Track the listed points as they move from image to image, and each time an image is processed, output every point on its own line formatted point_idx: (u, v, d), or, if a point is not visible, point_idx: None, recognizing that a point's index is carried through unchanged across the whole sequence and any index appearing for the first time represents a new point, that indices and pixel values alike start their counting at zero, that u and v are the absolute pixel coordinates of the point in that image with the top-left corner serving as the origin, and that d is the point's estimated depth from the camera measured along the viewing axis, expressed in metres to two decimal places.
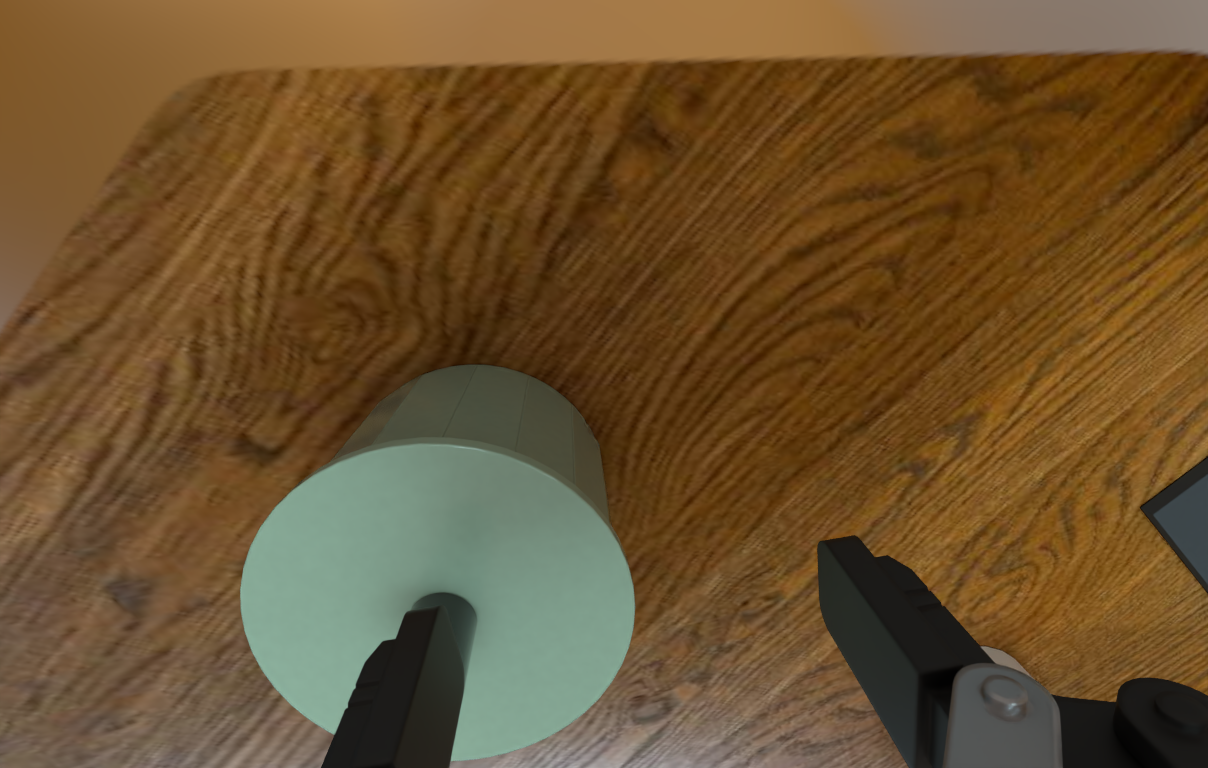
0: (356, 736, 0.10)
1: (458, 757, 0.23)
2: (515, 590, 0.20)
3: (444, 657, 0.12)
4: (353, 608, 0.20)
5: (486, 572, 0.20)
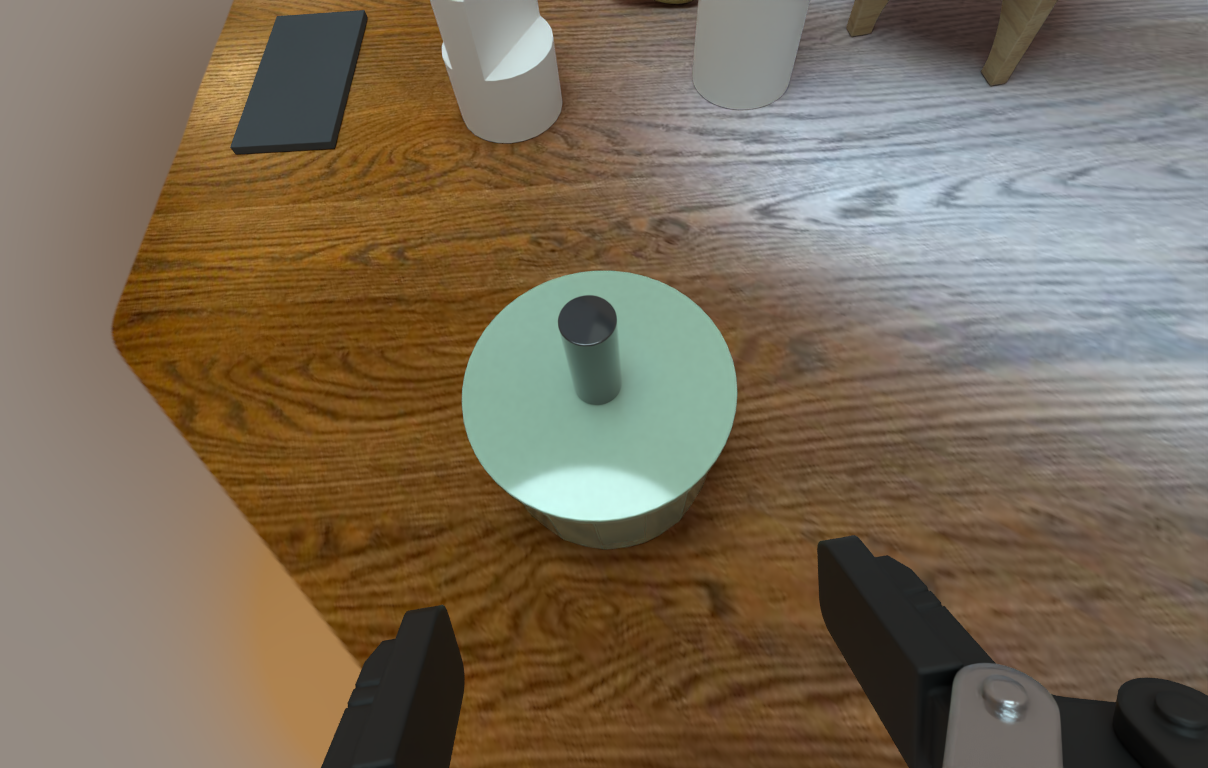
0: (356, 736, 0.10)
1: (687, 300, 0.31)
2: (545, 366, 0.30)
3: (444, 656, 0.12)
4: (632, 431, 0.28)
5: (547, 388, 0.29)
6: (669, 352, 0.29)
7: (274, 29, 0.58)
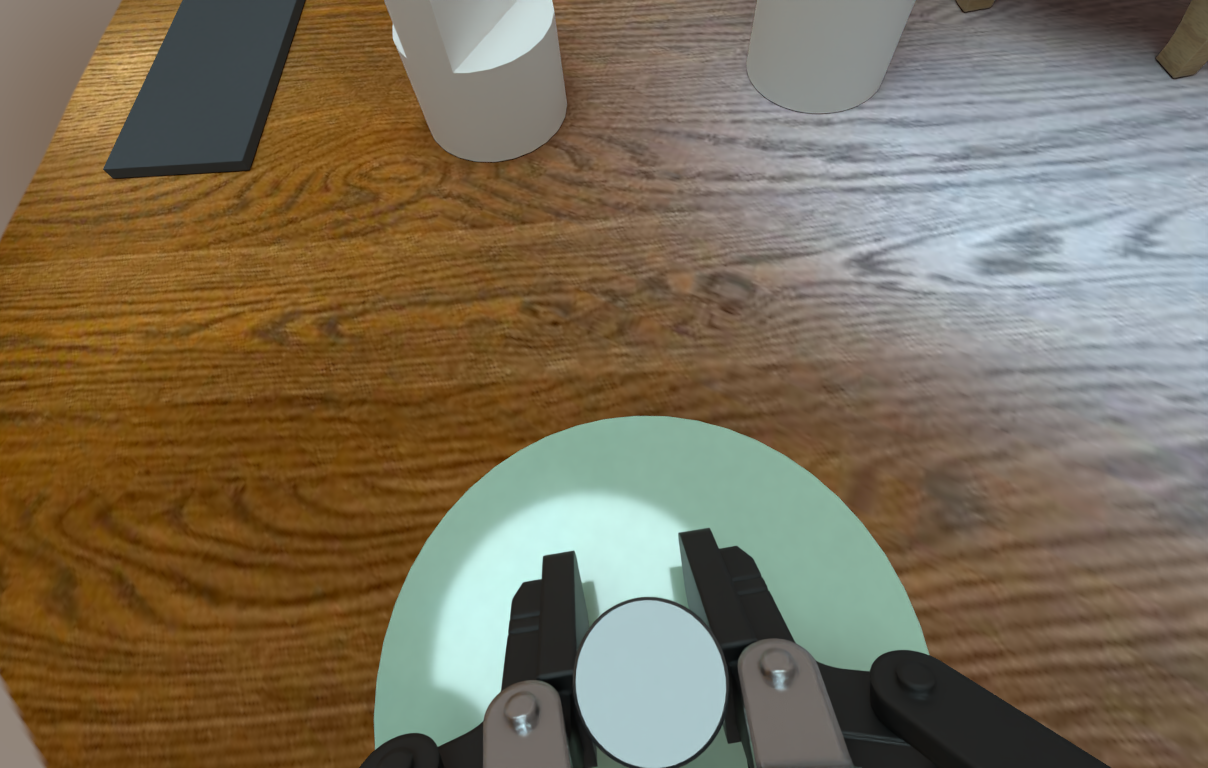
0: (526, 656, 0.11)
1: (813, 483, 0.16)
2: None
3: (580, 596, 0.13)
4: None
5: None
6: (789, 601, 0.15)
7: (181, 8, 0.43)
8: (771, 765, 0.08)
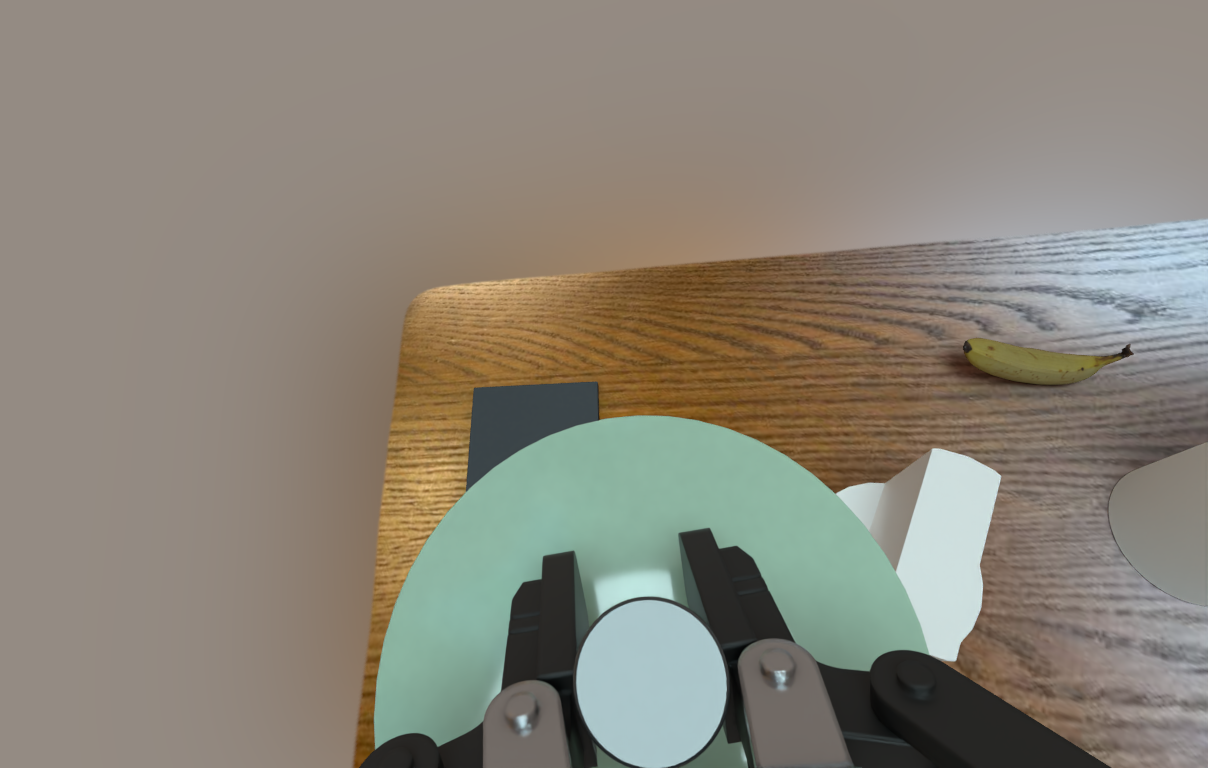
0: (526, 656, 0.11)
1: (813, 482, 0.16)
2: None
3: (580, 596, 0.13)
4: None
5: None
6: (789, 601, 0.15)
7: (475, 414, 0.42)
8: (771, 765, 0.08)
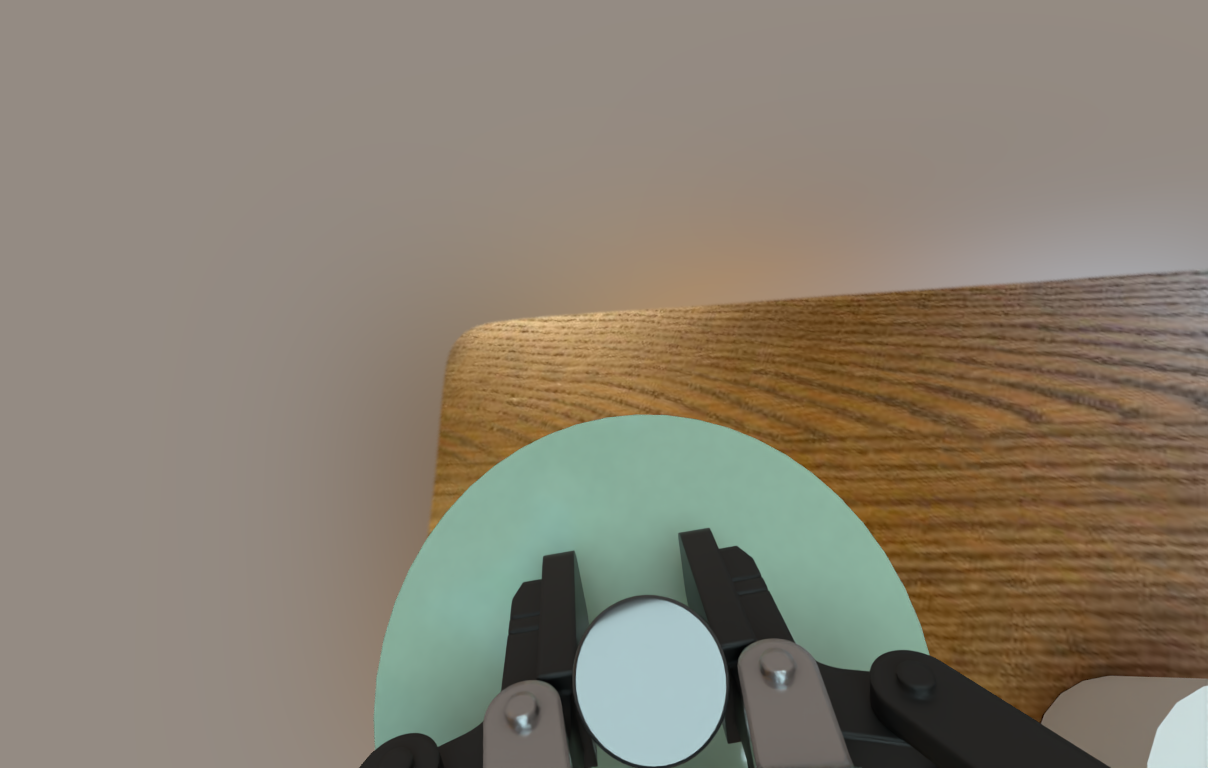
0: (526, 656, 0.11)
1: (813, 481, 0.16)
2: None
3: (580, 595, 0.13)
4: None
5: None
6: (789, 600, 0.15)
7: None
8: (771, 765, 0.08)
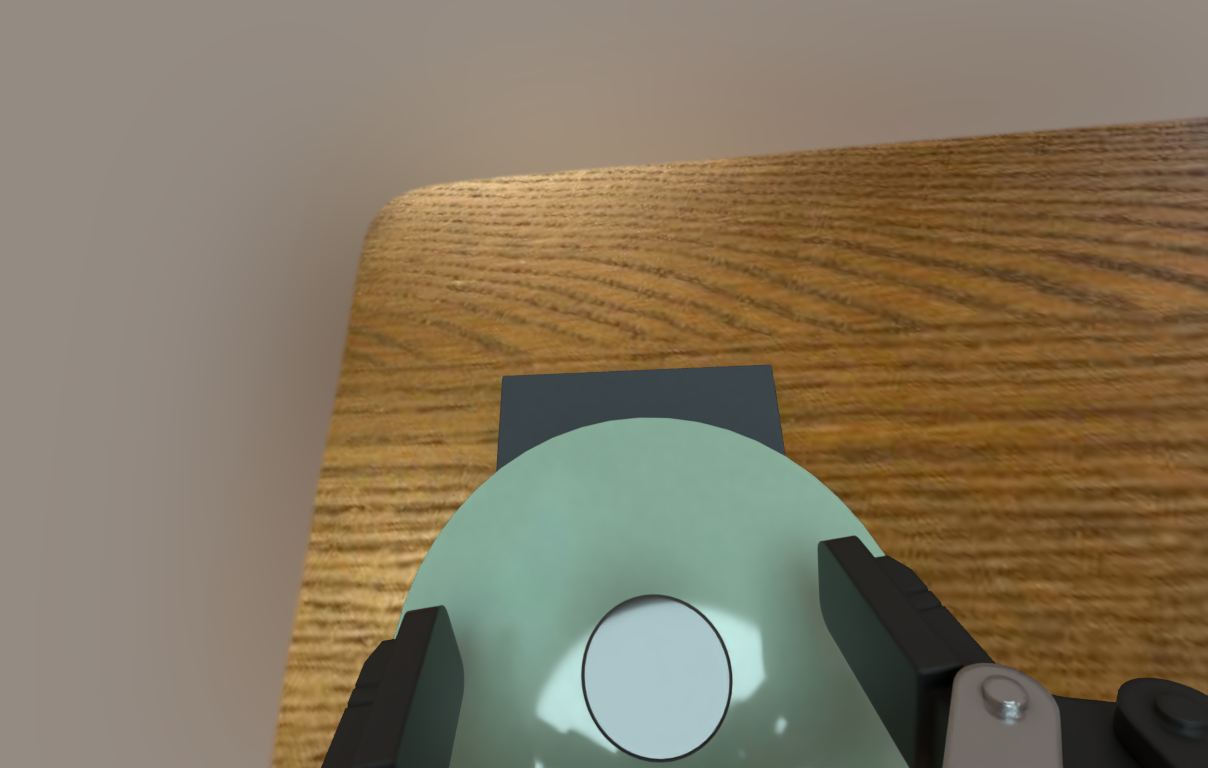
0: (356, 736, 0.10)
1: (812, 483, 0.16)
2: (550, 624, 0.15)
3: (443, 656, 0.12)
4: None
5: (552, 677, 0.15)
6: (789, 599, 0.15)
7: (507, 434, 0.19)
8: None
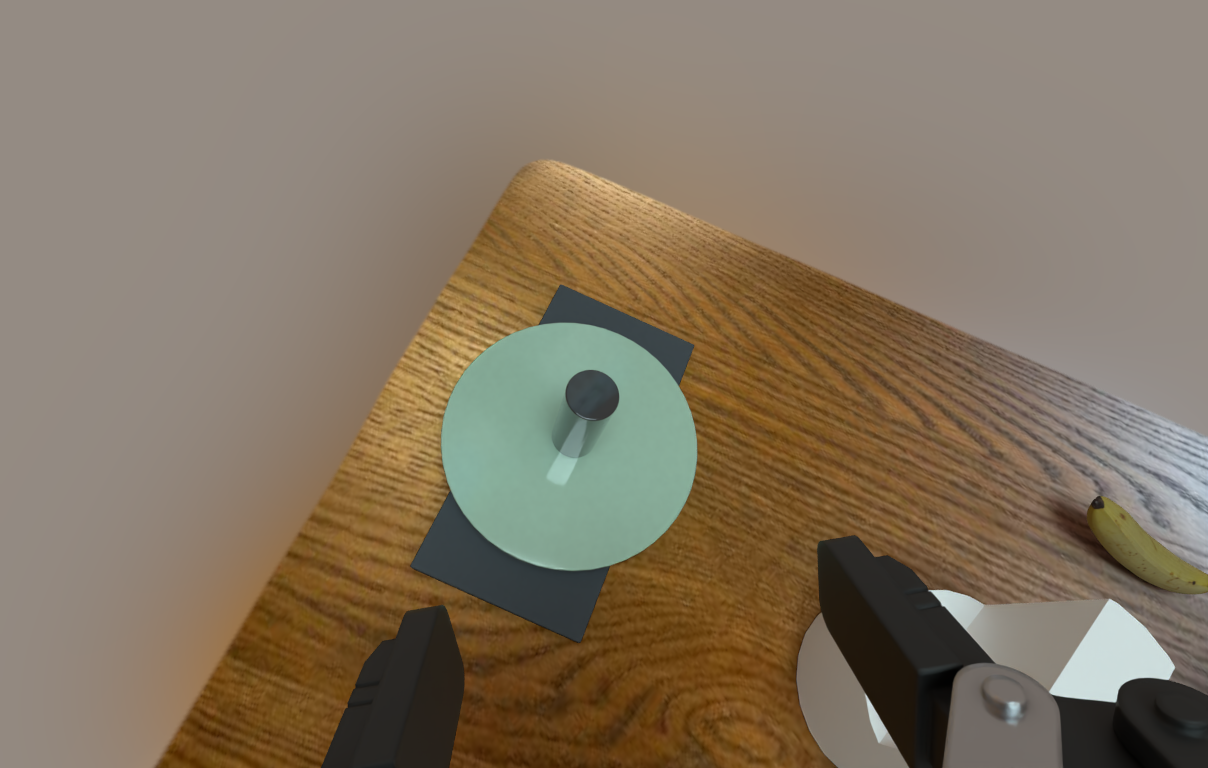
0: (356, 736, 0.10)
1: (682, 399, 0.33)
2: (537, 398, 0.31)
3: (444, 657, 0.12)
4: (583, 493, 0.30)
5: (529, 419, 0.31)
6: (646, 438, 0.32)
7: (550, 312, 0.35)
8: None
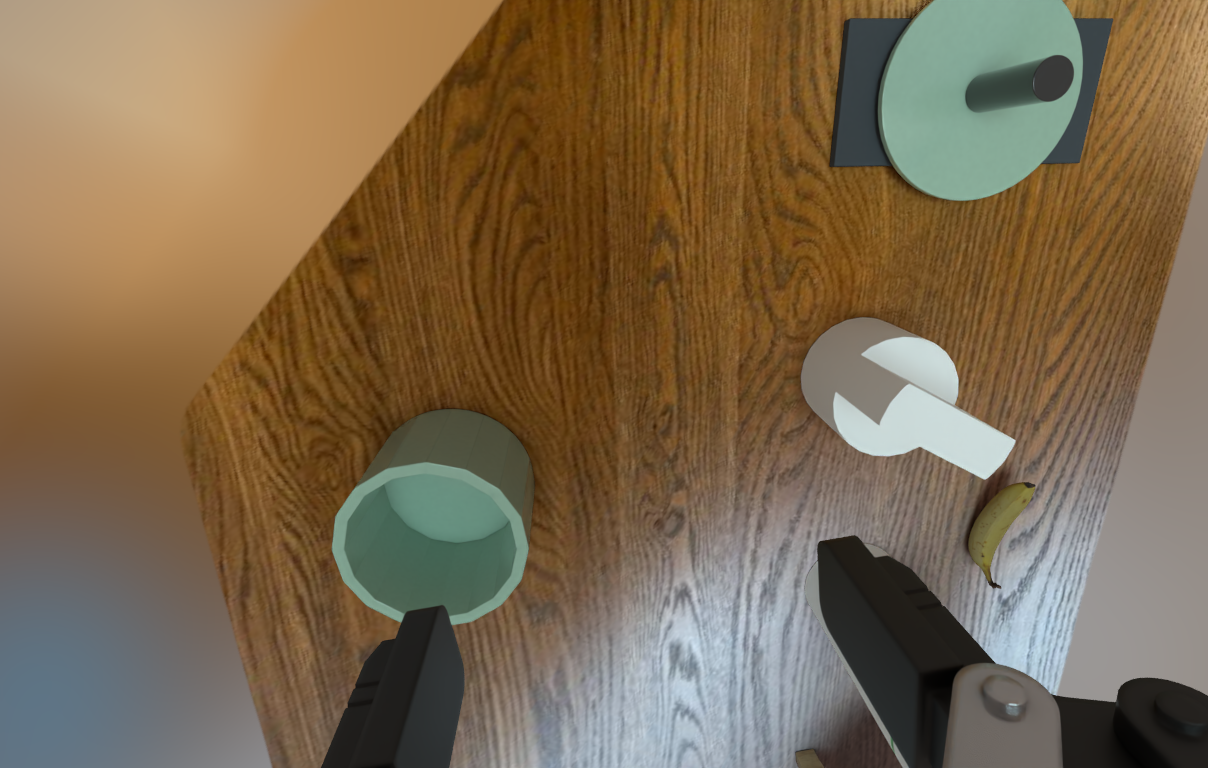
0: (356, 736, 0.10)
1: (1032, 168, 0.41)
2: (1006, 48, 0.38)
3: (444, 656, 0.12)
4: (940, 120, 0.39)
5: (987, 50, 0.38)
6: (994, 151, 0.40)
7: (1082, 23, 0.39)
8: None
